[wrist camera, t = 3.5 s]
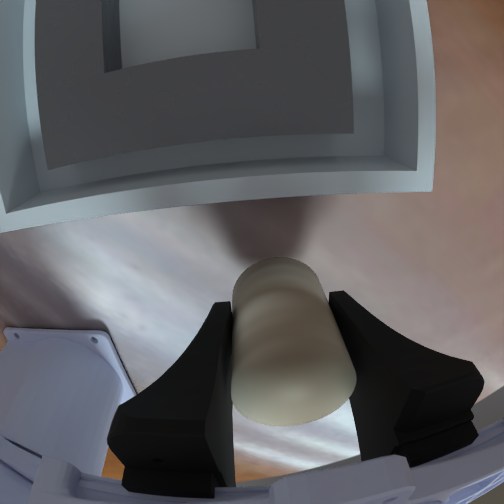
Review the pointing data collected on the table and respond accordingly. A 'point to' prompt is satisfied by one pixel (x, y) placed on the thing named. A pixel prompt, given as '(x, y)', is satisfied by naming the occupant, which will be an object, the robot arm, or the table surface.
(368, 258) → the table surface
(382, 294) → the table surface
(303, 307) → the peg
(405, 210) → the table surface
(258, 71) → the plate
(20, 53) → the tray
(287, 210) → the table surface
